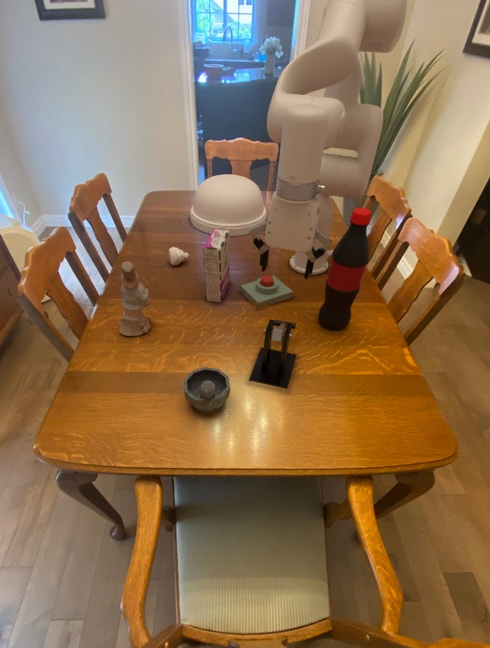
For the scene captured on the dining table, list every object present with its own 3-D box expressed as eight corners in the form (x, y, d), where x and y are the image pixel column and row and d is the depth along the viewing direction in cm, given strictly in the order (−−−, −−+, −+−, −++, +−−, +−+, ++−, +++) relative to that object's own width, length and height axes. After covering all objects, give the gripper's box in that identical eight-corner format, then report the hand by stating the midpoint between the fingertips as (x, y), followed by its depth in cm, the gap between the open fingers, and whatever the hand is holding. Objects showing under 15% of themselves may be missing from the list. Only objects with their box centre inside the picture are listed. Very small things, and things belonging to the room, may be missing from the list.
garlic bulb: (191, 265, 119) (189, 249, 115) (173, 268, 118) (171, 252, 114) (186, 258, 122) (185, 242, 118) (169, 260, 121) (167, 244, 117)
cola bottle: (349, 319, 101) (384, 205, 79) (345, 337, 96) (381, 221, 74) (319, 313, 103) (345, 200, 81) (313, 330, 98) (339, 214, 75)
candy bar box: (214, 281, 113) (212, 228, 101) (229, 283, 113) (230, 229, 100) (205, 301, 106) (202, 246, 94) (221, 303, 105) (221, 248, 93)
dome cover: (199, 200, 155) (197, 162, 145) (269, 205, 153) (272, 167, 142) (181, 233, 134) (178, 192, 124) (262, 240, 132) (265, 198, 121)
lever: (273, 326, 91) (274, 317, 90) (294, 330, 90) (296, 321, 89) (263, 338, 79) (265, 327, 78) (288, 343, 78) (290, 332, 77)
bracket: (260, 350, 92) (264, 307, 83) (295, 357, 91) (304, 315, 81) (248, 383, 84) (251, 340, 75) (286, 391, 83) (294, 349, 73)
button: (268, 279, 108) (269, 274, 106) (275, 285, 106) (276, 280, 104) (258, 282, 106) (258, 277, 105) (265, 288, 104) (265, 283, 103)
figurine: (144, 341, 94) (128, 269, 79) (114, 334, 95) (93, 262, 80) (158, 321, 99) (146, 250, 84) (130, 315, 101) (114, 244, 86)
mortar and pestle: (185, 390, 83) (180, 350, 74) (226, 387, 84) (226, 347, 74) (187, 430, 75) (182, 391, 66) (232, 426, 76) (233, 387, 67)
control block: (273, 281, 114) (274, 270, 111) (292, 298, 108) (293, 285, 105) (240, 291, 110) (240, 279, 107) (257, 309, 104) (258, 297, 101)
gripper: (344, 187, 70) (325, 270, 83) (257, 176, 73) (252, 258, 86) (340, 201, 65) (321, 287, 78) (247, 189, 68) (243, 273, 81)
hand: (285, 272), depth 82 cm, fingers open, 9 cm apart
